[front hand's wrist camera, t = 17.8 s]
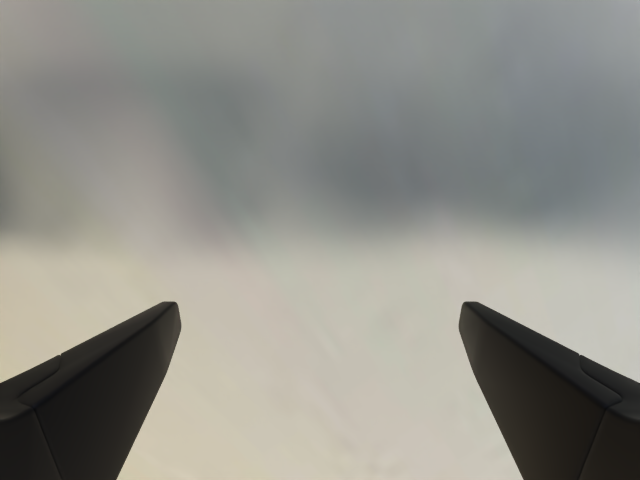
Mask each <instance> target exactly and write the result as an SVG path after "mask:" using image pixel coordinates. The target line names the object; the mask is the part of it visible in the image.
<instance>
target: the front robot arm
mask: <svg viewBox="0 0 640 480" xmlns="http://www.w3.org/2000/svg"><path fill="white" fill-rule="evenodd" d="M180 332H181V320H180V314H179V308H178V305H177V303H176V302H161V303H159V304H157V305H155V306H154V307H152V308H150V309H148V310H146V311H144V312H142V313H140V314H138V315H136V316H134V317H132V318H130V319H128V320H126V321H124V322H122V323H120V324H118V325H116V326H114V327H112V328H110V329H109V330H107V331H105V332H103V333H101V334H99V335H97V336H95V337H93V338H91V339H89V340H87V341H85V342H83V343H81V344H79V345H77V346H75V347H73V348H71V349H69V350H67V351H65V352H63V353H62V354H61V356H60V355H57V356H55V357H54V358H52V359H50V360H48V361H46V362H44V363H42V364H40V365H38V366H36V367H34V368H32V369H30V370H28V371H25V372H23V373H21V374H19V375H17V376H15V377H12V378H10V379H8V380H6V381H4V382H2V383H0V480H116V479H117V477H118V475H119V473H120V471H121V469H122V467H123V465H124V462H125V460H126V458H127V456H128V454H129V452H130V450H131V448H132V445H133V443H134V441H135V439H136V437H137V435H138V433H139V431H140V428H141V426H142V424H143V422H144V420H145V418H146V416H147V414H148V412H149V409H150V407H151V405H152V403H153V401H154V399H155V397H156V395H157V392H158V390H159V388H160V386H161V384H162V382H163V380H164V377H165V375H166V373H167V370H168V367H169V365H170V362H171V359H172V356H173V353H174V350H175V347H176V344H177V341H178V338H179V335H180ZM459 332H460V335H461V338H462V341H463V344H464V347H465V350H466V353H467V356H468V359H469V362H470V365H471V367H472V370H473V373H474V375H475V377H476V380H477V382H478V384H479V386H480V388H481V390H482V392H483V395H484V397H485V399H486V401H487V403H488V405H489V407H490V409H491V412H492V414H493V416H494V418H495V420H496V422H497V424H498V426H499V428H500V431H501V433H502V435H503V437H504V439H505V441H506V443H507V445H508V448H509V450H510V452H511V454H512V456H513V458H514V460H515V462H516V465H517V467H518V469H519V471H520V473H521V475H522V477H523V479H524V480H640V383H638V382H636V381H634V380H632V379H630V378H628V377H625V376H623V375H621V374H619V373H617V372H615V371H612V370H610V369H608V368H606V367H604V366H602V365H600V364H598V363H596V362H594V361H592V360H590V359H588V358H586V357H585V356H583V355H580V356H579V354H578V353H577V352H575V351H573V350H571V349H569V348H567V347H565V346H563V345H561V344H559V343H557V342H555V341H553V340H551V339H549V338H547V337H545V336H543V335H541V334H539V333H537V332H535V331H533V330H531V329H530V328H528V327H526V326H524V325H522V324H520V323H518V322H516V321H514V320H512V319H510V318H508V317H506V316H504V315H502V314H500V313H498V312H496V311H494V310H492V309H490V308H488V307H486V306H485V305H483V304H481V303H479V302H464V303H463V305H462V308H461V314H460V320H459Z"/></svg>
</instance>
